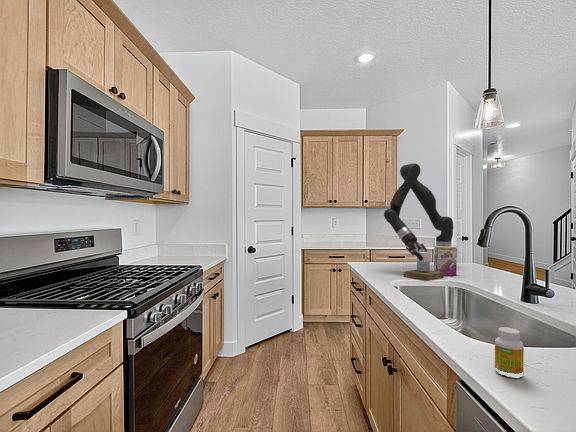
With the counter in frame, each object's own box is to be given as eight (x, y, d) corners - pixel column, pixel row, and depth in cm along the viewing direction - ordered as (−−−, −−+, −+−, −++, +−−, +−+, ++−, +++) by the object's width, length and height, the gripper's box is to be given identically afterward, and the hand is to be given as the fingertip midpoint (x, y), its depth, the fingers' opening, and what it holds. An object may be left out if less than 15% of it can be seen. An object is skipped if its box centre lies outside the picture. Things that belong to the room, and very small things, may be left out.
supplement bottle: (497, 377, 75) (497, 332, 75) (492, 366, 80) (492, 324, 80) (526, 381, 73) (526, 335, 73) (519, 370, 78) (520, 327, 78)
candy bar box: (436, 275, 197) (436, 247, 196) (433, 274, 202) (433, 246, 201) (457, 276, 195) (457, 247, 195) (453, 274, 200) (453, 246, 200)
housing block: (422, 269, 195) (422, 251, 195) (429, 270, 192) (429, 252, 191) (417, 270, 193) (417, 252, 192) (424, 271, 189) (424, 253, 189)
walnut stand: (421, 274, 202) (421, 268, 202) (443, 277, 191) (443, 272, 191) (403, 276, 193) (403, 271, 193) (425, 280, 182) (425, 275, 182)
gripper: (402, 232, 195) (421, 256, 185) (418, 231, 203) (437, 254, 193) (395, 241, 199) (412, 264, 189) (410, 240, 207) (428, 262, 197)
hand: (425, 259), depth 191 cm, fingers closed on housing block, 5 cm apart
